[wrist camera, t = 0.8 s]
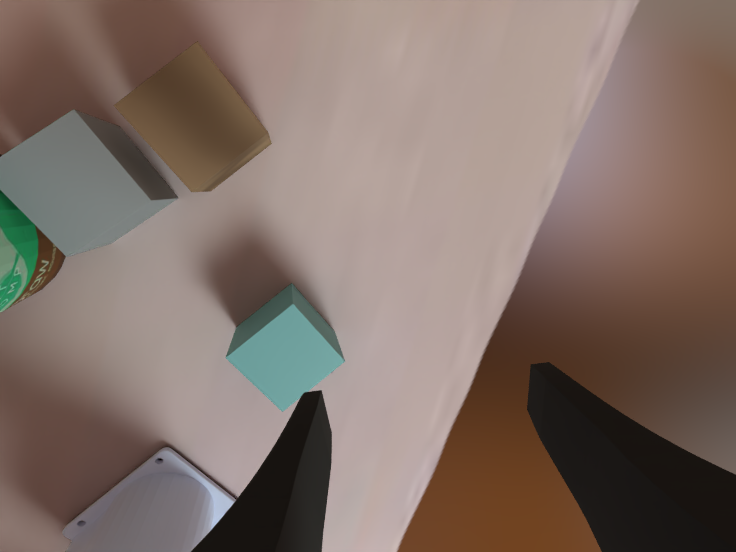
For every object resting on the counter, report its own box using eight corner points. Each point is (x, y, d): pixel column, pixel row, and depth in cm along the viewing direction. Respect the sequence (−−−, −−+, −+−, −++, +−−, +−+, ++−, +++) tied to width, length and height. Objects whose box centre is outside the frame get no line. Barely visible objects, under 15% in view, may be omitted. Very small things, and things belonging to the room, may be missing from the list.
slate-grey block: (112, 243, 23) (66, 257, 18) (48, 173, 21) (-20, 169, 17) (178, 198, 23) (151, 200, 18) (120, 126, 22) (73, 109, 17)
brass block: (210, 191, 23) (191, 192, 19) (151, 123, 22) (113, 105, 17) (271, 143, 24) (268, 132, 19) (216, 72, 22) (197, 41, 17)
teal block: (282, 373, 27) (282, 411, 23) (236, 326, 26) (225, 357, 21) (334, 331, 28) (345, 361, 23) (291, 282, 26) (293, 303, 21)
